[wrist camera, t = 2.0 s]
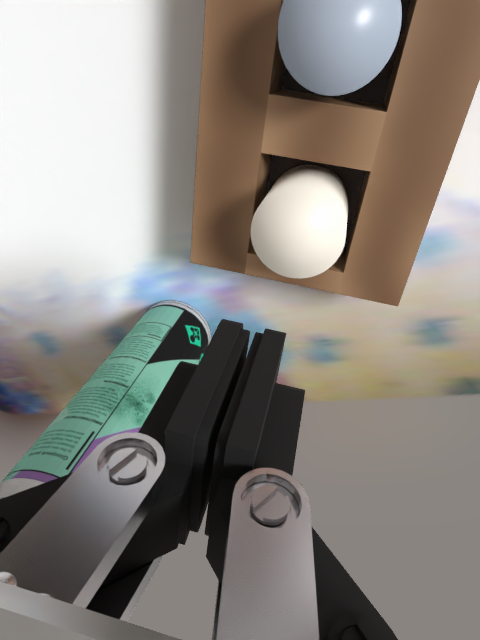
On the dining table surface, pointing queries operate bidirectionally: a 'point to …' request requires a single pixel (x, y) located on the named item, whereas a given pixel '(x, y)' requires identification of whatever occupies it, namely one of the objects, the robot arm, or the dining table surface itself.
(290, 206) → the cream cylinder
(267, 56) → the wooden egg holder
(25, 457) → the spray can
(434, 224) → the dining table surface
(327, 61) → the blue-grey egg
